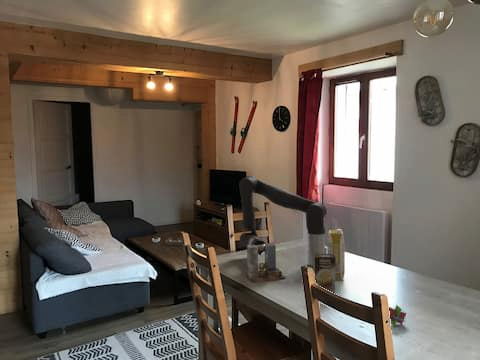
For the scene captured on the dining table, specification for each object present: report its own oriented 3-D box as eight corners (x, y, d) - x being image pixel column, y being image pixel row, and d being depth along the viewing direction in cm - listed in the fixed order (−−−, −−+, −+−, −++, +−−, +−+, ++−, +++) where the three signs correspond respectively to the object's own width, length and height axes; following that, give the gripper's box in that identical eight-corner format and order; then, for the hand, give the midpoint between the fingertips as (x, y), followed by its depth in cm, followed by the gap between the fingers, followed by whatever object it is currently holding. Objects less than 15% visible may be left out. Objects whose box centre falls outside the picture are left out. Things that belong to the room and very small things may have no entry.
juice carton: (344, 281, 189) (344, 231, 187) (327, 281, 190) (327, 231, 188) (343, 275, 198) (343, 227, 196) (327, 274, 199) (327, 227, 197)
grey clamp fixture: (272, 272, 202) (272, 243, 201) (276, 275, 197) (275, 245, 196) (257, 274, 200) (257, 244, 199) (260, 277, 195) (260, 246, 194)
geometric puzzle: (405, 314, 146) (393, 297, 146) (414, 322, 139) (401, 304, 139) (390, 326, 146) (377, 309, 146) (398, 334, 139) (384, 317, 139)
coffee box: (314, 293, 175) (314, 257, 173) (313, 288, 181) (312, 253, 180) (335, 293, 174) (335, 257, 172) (333, 288, 180) (333, 253, 179)
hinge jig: (276, 271, 207) (275, 240, 206) (284, 278, 195) (284, 246, 193) (244, 274, 203) (244, 243, 202) (251, 282, 191) (251, 249, 189)
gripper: (244, 239, 217) (253, 246, 201) (269, 237, 221) (280, 244, 205) (244, 252, 218) (253, 261, 202) (269, 250, 221) (280, 258, 205)
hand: (266, 252), depth 203 cm, fingers open, 6 cm apart
